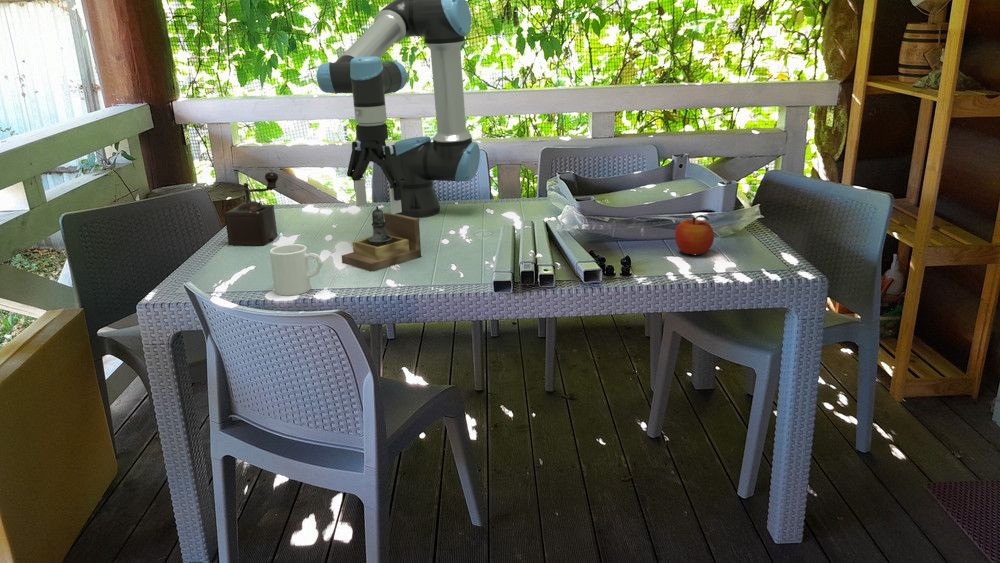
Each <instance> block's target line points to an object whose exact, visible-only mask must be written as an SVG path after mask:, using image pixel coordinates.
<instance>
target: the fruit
mask: <svg viewBox="0 0 1000 563" xmlns="http://www.w3.org/2000/svg"><path fill="white" fill-rule="evenodd" d="M698 218H703V219H704V220H707V221H709V219H710V218H709V217H708V216H707V215H705V214H699V215H697V216H696V217H694V216H692V219H687V220H682V221H681V222H680V223H679V224H677V226H676V228H675V231H674V239H675V244H676V246H677V248H678V249H679V251H680V252H682V253H683V254H685V253H686V254H685V255H688V254H692V255H691V256H694V255H693V254H696V255H695V256H698V255H697V254H702V255H704V254H706V253H707V252H708V251H709V250H710V249H711V248H712V246H713V243H714V239H715V233H714V230H713V227H712V226H711V224H710V223H708V222H706V221H704V220H699V219H698ZM703 253H704V254H703Z"/></svg>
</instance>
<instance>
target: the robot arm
mask: <svg viewBox="0 0 1000 563" xmlns="http://www.w3.org/2000/svg"><path fill="white" fill-rule="evenodd" d="M470 11H471V10H470V7H469V4H468V2H467V0H393V1H391V2H389V3H388V4H387V5H385V7H382V9H381V10H379V12H378V13H377V14H376V15H375V17H374V20H373V23H372V24H371V26H369V27H368V28H367V29H366V30H365V31H364V32H363V33H362V34H361V35H360V36H359V38H358V39H357V40H356V41H354V43H352V45H351V46H350V47H349V48H348V49H347V50H346V51H344V52H343V54H342V55H341V56H340V57H339V58H338V59H337V60H336V61H334V62H331V61H329V62H325V63H324V62H323V63H321V64H320V65H319V66H318V68H317V70H316V82H317V85H318V87H319V89H320V90H321V91H322V92H323V93H326V94H328V93H329V94H336V95H338V94H352V98H353V107H354V108H353V109H354V120H355V123H356V126H355V132H356V134H355V136H356V140H354V141H352V142H351V153H350V157H349V163H348V168H347V171H346V176H347V177H348V178H349V177H350V178H351V180H352V182H353V189H354V193H355V203H356V207H362V206H365V205H368V200H367V190H366V180H365V176H364V175H365V172H366V170H367V168H368V166H369V165H370V163H373V164H374V163H375V164H376V165H377V166H379V168H380V169H381V170H382V172H383V174H384V176H385V178H386V180H387V181H388V182H389V185H390V186H389V189H388V190H389V201H390V211H391V212H390V213H391V214H399V215H404V216H408V217H413V218H426V217H430V216H435V215H437V214H439V213H441V205H440V202H439V199H438V197H437V193H436V191H435V189H434V181H441V182H442V181H443V182H445V181H446V182H455V183H456V182H457V183H459V182H470V181H471V180H473V179H474V177H475V176H476V174H477V172H478V169H479V165H480V161H481V160H480V159H481V149H480V146H479V144H478V143H476V142H474V141H473V139H472V138H473V136H472V134H471V133H470V132H469V131H467V125H466V124H467V123H466V122H467V121H466V112H465V111H466V108H465V96H464V83H463V68H462V66H463V65H462V56H461V55H462V54H461V47H462V46H463V45H464V43H465V42H466V36H468V35H469V34H470V32H471V30H472V27H471V25H472V16H471V12H470ZM411 37H412V38H413V37H423V39H424V40H423V41H424V45H425V46H426V47H427V48H428V49H429V50H430V59H431V62H430V63H431V72H432V82H433V83H432V84H433V96H434V97H433V98H434V105H435V106H434V108H435V117H436V118H435V119H436V129H437V132H436V133H435V134H434V136H433V137H432V139H431V137H430V136H428V135H427V136H425V135H423V136H416V137H410V138H405V139H401V140H398V141H396V142H395V143H394V144H391V145H387V144H386V140H387V139H388V137H389V133H388V124H387V123H386V122H387V121H388V117H387V108H386V96H385V95H388V94H392V93H396V92H398V91H400V90H402V89H403V88H404V87H406V84H407V82H408V73H407V70H406V68H405V66H404V65H403V64H402V63H400V61H399V62H398V61H395V60H386V61H383V60H382V59H381V58H382V57H383V56H384V55H385V54H386V53H387V51H388V50H389V49H390V48H391V47H392V46H393V45H394V44H398V43H400V42H401V41H402V40H404V39H406V38H411Z"/></svg>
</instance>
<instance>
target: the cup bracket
mask: <svg viewBox="0 0 1000 563" xmlns="http://www.w3.org/2000/svg"><path fill="white" fill-rule="evenodd" d="M383 213H384V222H385V223H386V224H385V231H386V234H387V235H389V236H391V237H392V239H391V242H390V244H387V245H383V246H380V247H376V246H373V245H371V244H370V241H369V240H368V239H369V238H370V237H371V236H370V237H366V238H363V239H358V240H356V241H354V240H353V241H352V242H351V243H352V252H349V253H346V254H342V255H341V256H340V257H341V263H342V264H344V265H347V266H350V267H351V266H352V267H354V268H358V269H362V270H364V269H365V271H368V272H371V271H373V272H376V271H379V270H382V269H385V268H389V267H393V266H396V265H399V264H402V263H406V262H408V261H411V260H414V259H419V258H422V248H421V247H422V246H421V244H422V243H421V232H420V230H421V229H420V218H419V217H417V218H413V217H408V216H404V215H399V214H391V212H389V211H388V212H383Z"/></svg>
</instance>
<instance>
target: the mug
mask: <svg viewBox="0 0 1000 563" xmlns="http://www.w3.org/2000/svg"><path fill="white" fill-rule="evenodd" d="M269 257H270V258H269V259H270V265H271V267H270V268H271V273H272V281H273V289H274V293H275V294H277V295H279V296H287V297H289V296H299V295H302V294H305V293H307V292H309V291H310V290H311V288H312V283H311V278H313V277H316V275H319V274H320V272H321V269H322V267H323V264H324V261H323V259H322V258H321V257H320V256H319V254H317V253H314V252H310V253H308V248H307V246H305V245H304V244H298V243H297V244H296V243H288V244H287V243H286V244H282V245H277V246H274V247H272V248H271V249H270V250H269ZM309 258H311V259H314V260H315V261H316V263H317V265H316V267H315V270H314V271H312V272H310V263H309Z"/></svg>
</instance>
